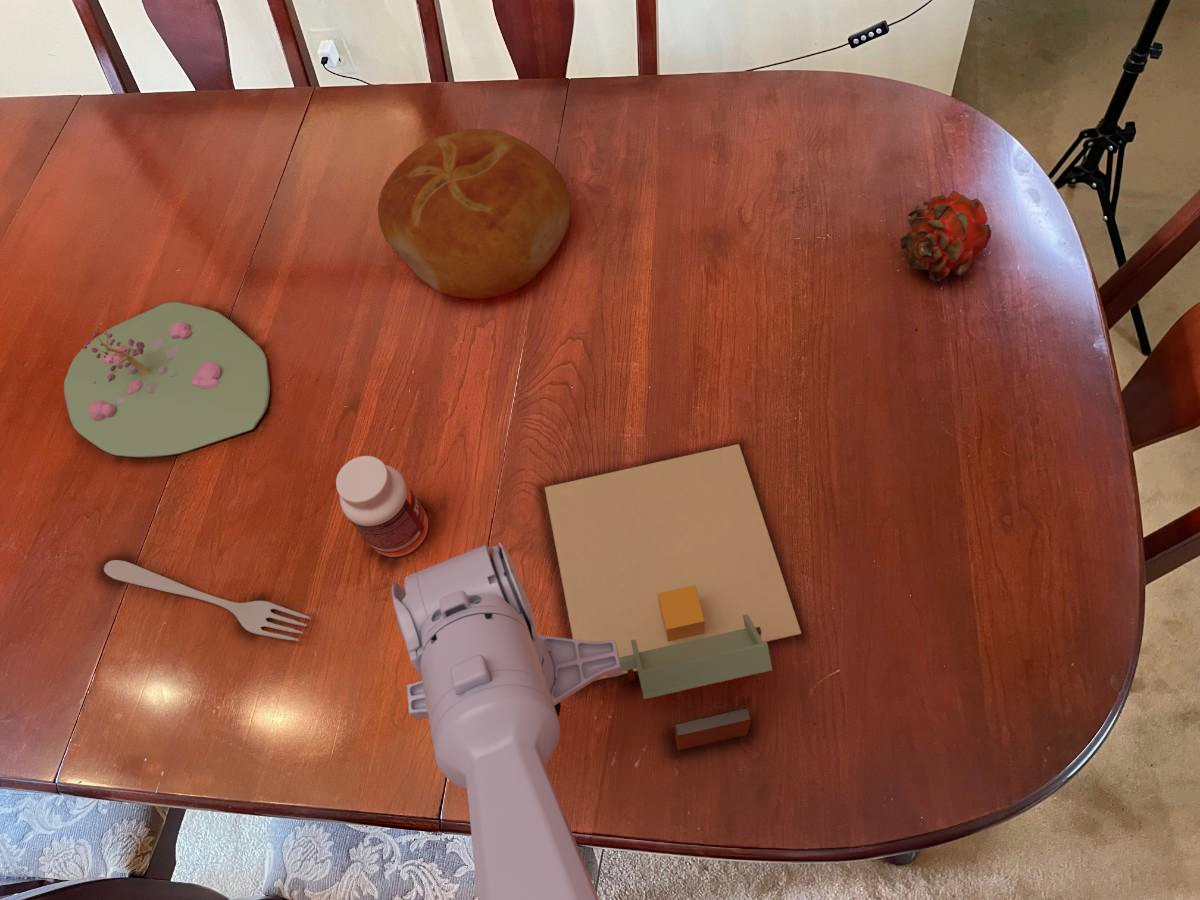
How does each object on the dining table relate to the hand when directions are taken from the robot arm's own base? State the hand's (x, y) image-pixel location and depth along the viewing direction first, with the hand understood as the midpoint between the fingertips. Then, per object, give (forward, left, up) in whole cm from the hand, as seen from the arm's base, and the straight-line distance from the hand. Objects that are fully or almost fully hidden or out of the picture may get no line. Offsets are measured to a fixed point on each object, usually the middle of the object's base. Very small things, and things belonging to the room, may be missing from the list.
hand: (535, 707), depth 65 cm
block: (+6, -13, -7) cm, 16 cm away
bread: (+60, -1, -10) cm, 60 cm away
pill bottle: (+23, +12, -10) cm, 27 cm away
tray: (+1, -10, -2) cm, 11 cm away
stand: (0, -13, -9) cm, 16 cm away
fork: (+20, +31, -10) cm, 38 cm away
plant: (+48, +36, -10) cm, 60 cm away
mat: (+14, -13, -9) cm, 21 cm away
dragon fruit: (+42, -51, -10) cm, 67 cm away
